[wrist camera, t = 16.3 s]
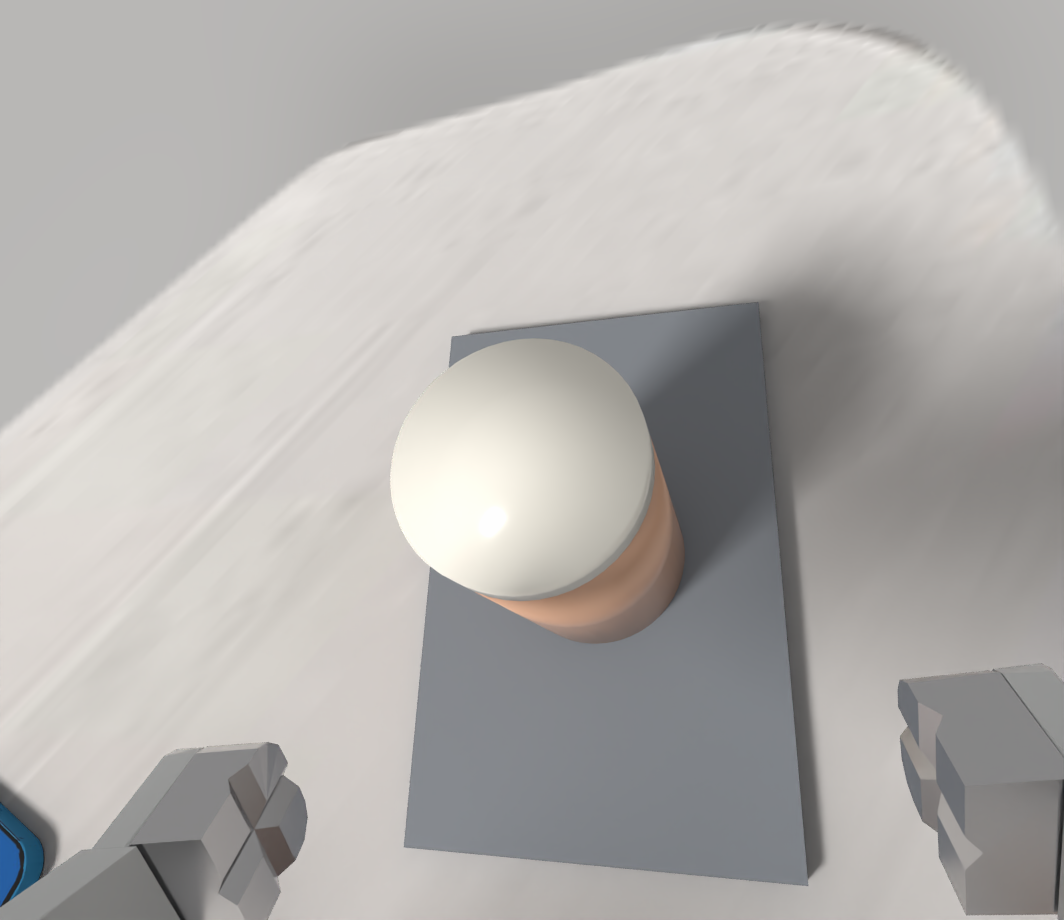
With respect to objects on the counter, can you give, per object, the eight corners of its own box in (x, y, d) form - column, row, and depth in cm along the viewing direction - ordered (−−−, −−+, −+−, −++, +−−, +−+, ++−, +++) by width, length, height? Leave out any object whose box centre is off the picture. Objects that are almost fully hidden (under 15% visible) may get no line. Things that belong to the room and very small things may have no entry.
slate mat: (806, 881, 18) (808, 886, 17) (412, 844, 21) (404, 847, 20) (757, 311, 24) (758, 301, 24) (457, 344, 27) (451, 336, 26)
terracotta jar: (688, 644, 20) (652, 589, 13) (507, 643, 22) (376, 594, 14) (681, 465, 22) (645, 324, 15) (514, 475, 24) (403, 352, 16)
